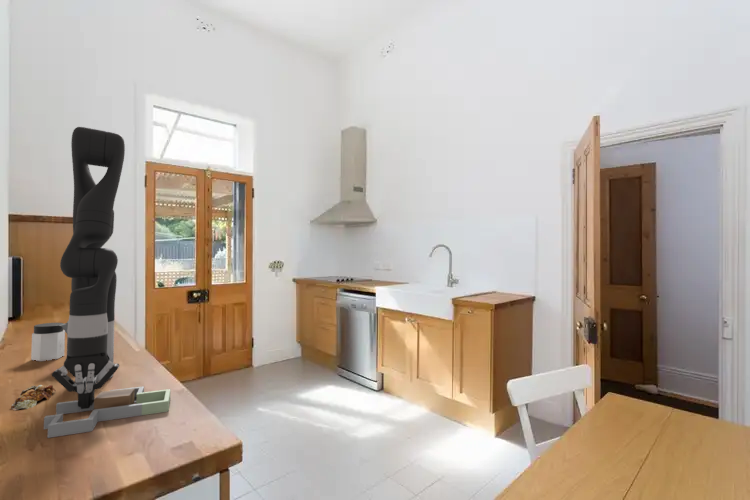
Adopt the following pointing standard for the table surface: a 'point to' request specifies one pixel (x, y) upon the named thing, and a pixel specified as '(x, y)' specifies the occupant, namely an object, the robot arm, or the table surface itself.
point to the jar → (48, 342)
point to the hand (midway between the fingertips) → (85, 407)
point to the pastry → (32, 396)
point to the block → (114, 398)
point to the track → (105, 412)
